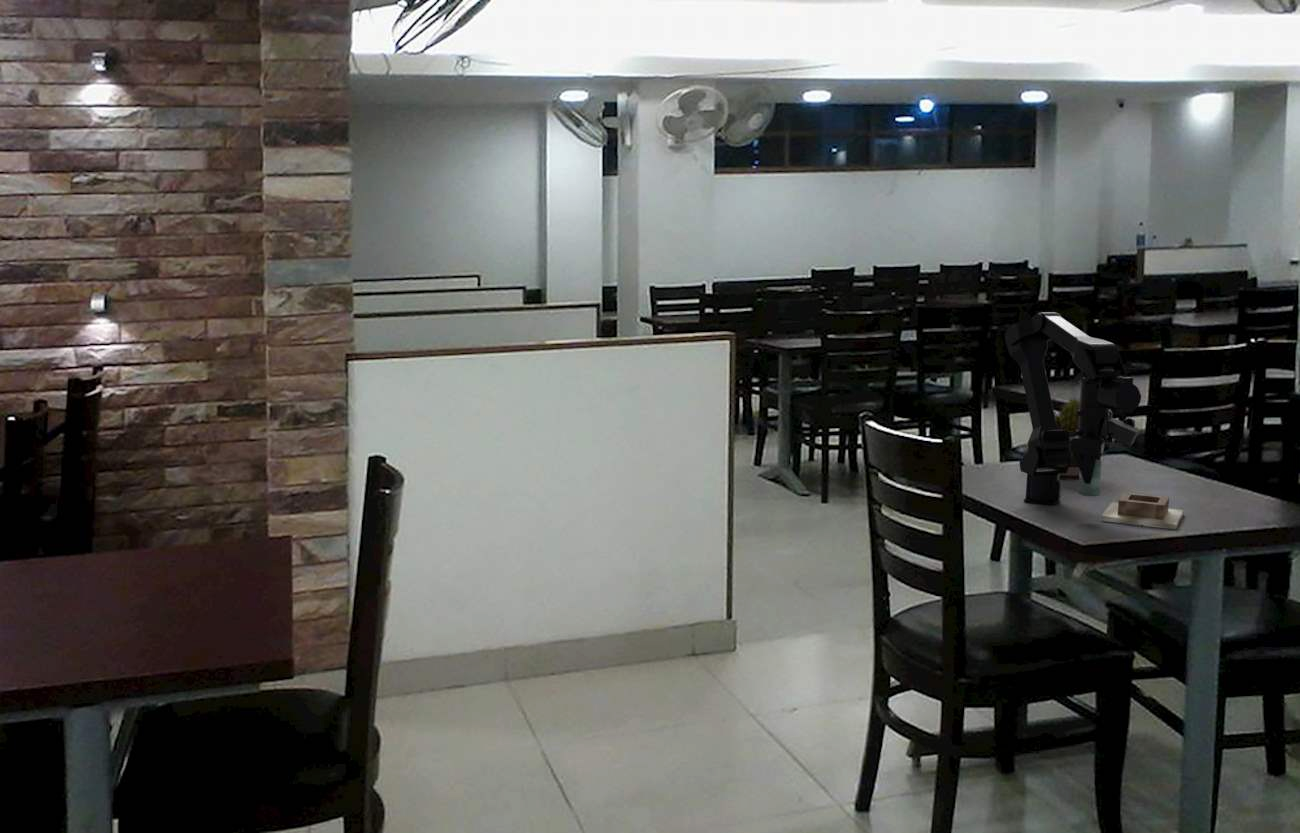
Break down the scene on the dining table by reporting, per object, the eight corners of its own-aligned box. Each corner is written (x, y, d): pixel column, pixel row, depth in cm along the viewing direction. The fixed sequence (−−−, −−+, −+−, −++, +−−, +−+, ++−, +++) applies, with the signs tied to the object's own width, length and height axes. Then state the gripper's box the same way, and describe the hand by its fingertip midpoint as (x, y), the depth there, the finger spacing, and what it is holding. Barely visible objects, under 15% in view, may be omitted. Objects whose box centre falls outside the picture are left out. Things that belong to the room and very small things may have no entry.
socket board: (1101, 520, 258) (1102, 501, 257) (1111, 506, 270) (1113, 488, 270) (1175, 529, 252) (1177, 509, 251) (1183, 515, 264) (1184, 495, 263)
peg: (1076, 495, 258) (1078, 460, 257) (1080, 491, 262) (1082, 457, 261) (1097, 497, 257) (1099, 462, 256) (1100, 493, 260) (1103, 459, 259)
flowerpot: (1022, 468, 309) (1027, 386, 306) (1086, 470, 308) (1092, 387, 305) (1037, 481, 295) (1043, 395, 291) (1105, 483, 294) (1111, 396, 291)
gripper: (1130, 415, 245) (1124, 495, 247) (1143, 402, 261) (1138, 478, 263) (1070, 410, 250) (1065, 488, 252) (1086, 398, 266) (1081, 472, 268)
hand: (1089, 481), depth 259 cm, fingers closed on peg, 4 cm apart
